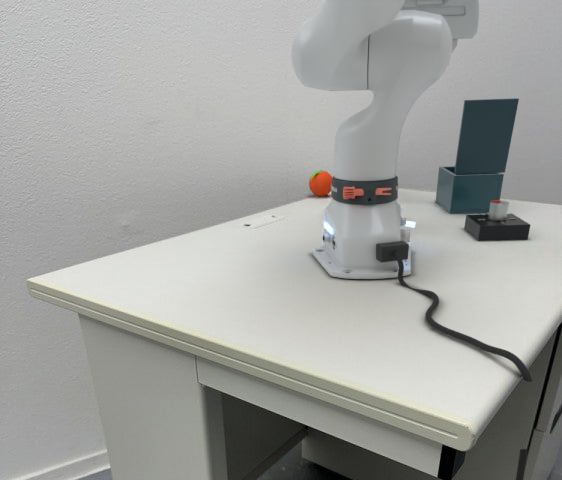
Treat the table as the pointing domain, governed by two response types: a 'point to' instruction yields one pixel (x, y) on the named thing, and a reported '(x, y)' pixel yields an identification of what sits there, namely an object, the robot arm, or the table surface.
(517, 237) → the control panel
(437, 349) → the table surface
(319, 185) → the clementine
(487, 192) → the teal open box
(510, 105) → the box lid
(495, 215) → the knob
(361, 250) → the robot arm
